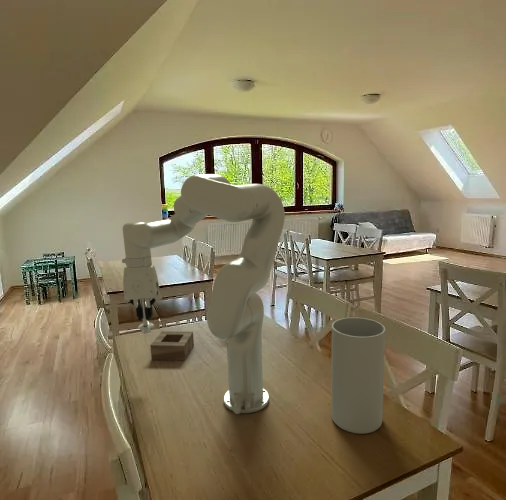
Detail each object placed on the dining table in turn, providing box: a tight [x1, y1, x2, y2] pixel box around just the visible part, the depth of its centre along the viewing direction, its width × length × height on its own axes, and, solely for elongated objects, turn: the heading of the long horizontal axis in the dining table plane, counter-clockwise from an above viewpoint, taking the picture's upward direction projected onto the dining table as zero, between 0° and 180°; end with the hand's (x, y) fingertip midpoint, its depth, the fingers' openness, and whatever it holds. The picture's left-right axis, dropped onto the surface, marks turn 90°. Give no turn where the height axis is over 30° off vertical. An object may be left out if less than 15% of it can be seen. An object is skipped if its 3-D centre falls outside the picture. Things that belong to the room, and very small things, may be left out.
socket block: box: [150, 330, 195, 361], centre depth 139 cm, size 12×12×6 cm
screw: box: [137, 299, 155, 335], centre depth 122 cm, size 13×5×5 cm
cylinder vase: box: [330, 316, 386, 435], centre depth 96 cm, size 12×12×25 cm
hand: (145, 318), depth 122 cm, fingers closed on screw, 2 cm apart
